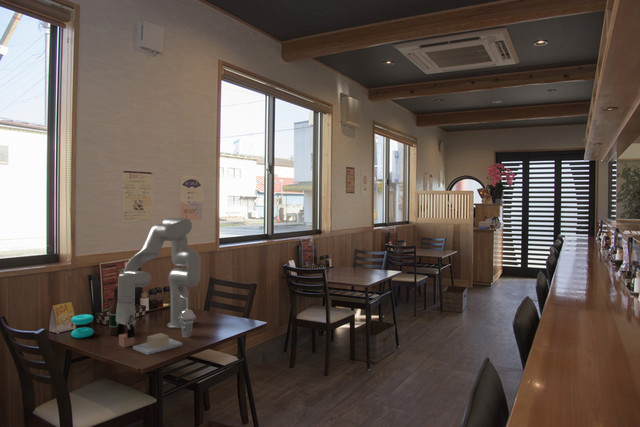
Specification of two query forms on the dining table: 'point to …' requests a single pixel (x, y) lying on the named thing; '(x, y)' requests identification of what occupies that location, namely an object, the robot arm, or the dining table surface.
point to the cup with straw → (186, 320)
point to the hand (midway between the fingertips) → (125, 335)
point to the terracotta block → (125, 340)
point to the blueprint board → (150, 349)
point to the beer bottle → (114, 315)
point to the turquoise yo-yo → (85, 330)
